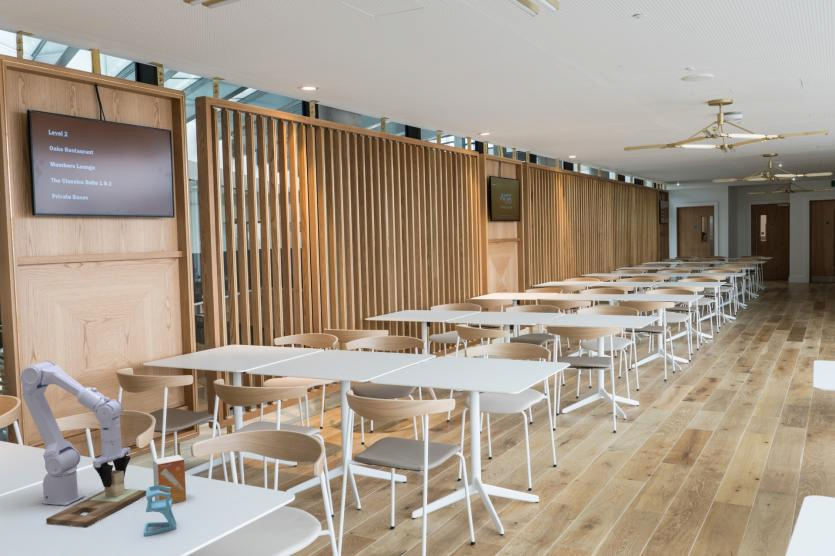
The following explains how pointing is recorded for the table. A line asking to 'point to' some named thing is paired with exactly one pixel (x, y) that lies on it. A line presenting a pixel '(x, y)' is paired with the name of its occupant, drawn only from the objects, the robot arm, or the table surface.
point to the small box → (170, 477)
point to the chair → (159, 509)
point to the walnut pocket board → (91, 510)
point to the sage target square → (114, 499)
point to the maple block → (116, 484)
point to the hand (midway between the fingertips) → (113, 483)
